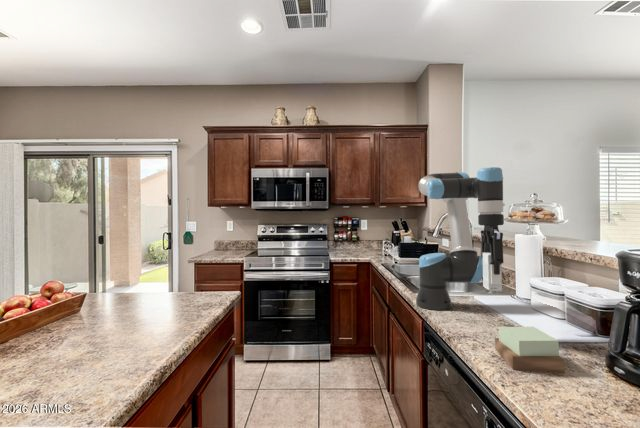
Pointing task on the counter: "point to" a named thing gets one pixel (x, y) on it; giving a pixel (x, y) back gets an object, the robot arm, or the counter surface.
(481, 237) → the robot arm
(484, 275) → the skincare box
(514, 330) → the tower top
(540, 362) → the tower base
